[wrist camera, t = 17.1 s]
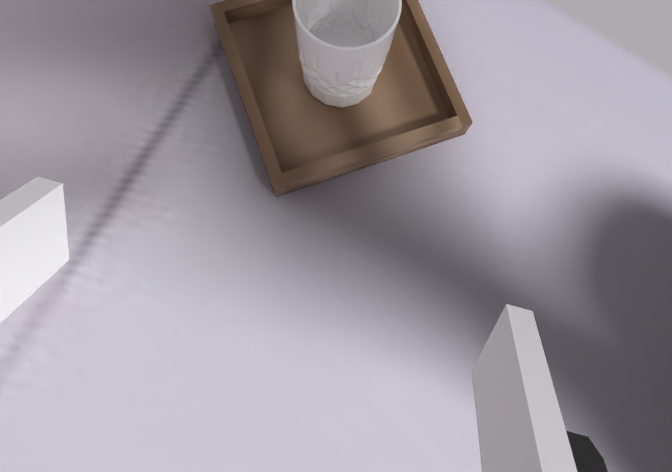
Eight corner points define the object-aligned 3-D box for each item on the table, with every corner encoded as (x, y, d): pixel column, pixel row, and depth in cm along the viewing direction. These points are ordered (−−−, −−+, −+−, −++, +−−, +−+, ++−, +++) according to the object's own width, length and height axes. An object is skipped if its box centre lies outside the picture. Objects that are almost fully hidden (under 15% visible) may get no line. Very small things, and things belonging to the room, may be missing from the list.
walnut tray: (392, -28, 50) (396, -48, 47) (464, 134, 46) (472, 122, 44) (214, 23, 48) (209, 5, 45) (276, 196, 44) (274, 187, 42)
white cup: (343, 20, 47) (351, -65, 38) (400, 78, 46) (424, 6, 37) (278, 69, 46) (269, -6, 36) (336, 131, 45) (342, 70, 35)
